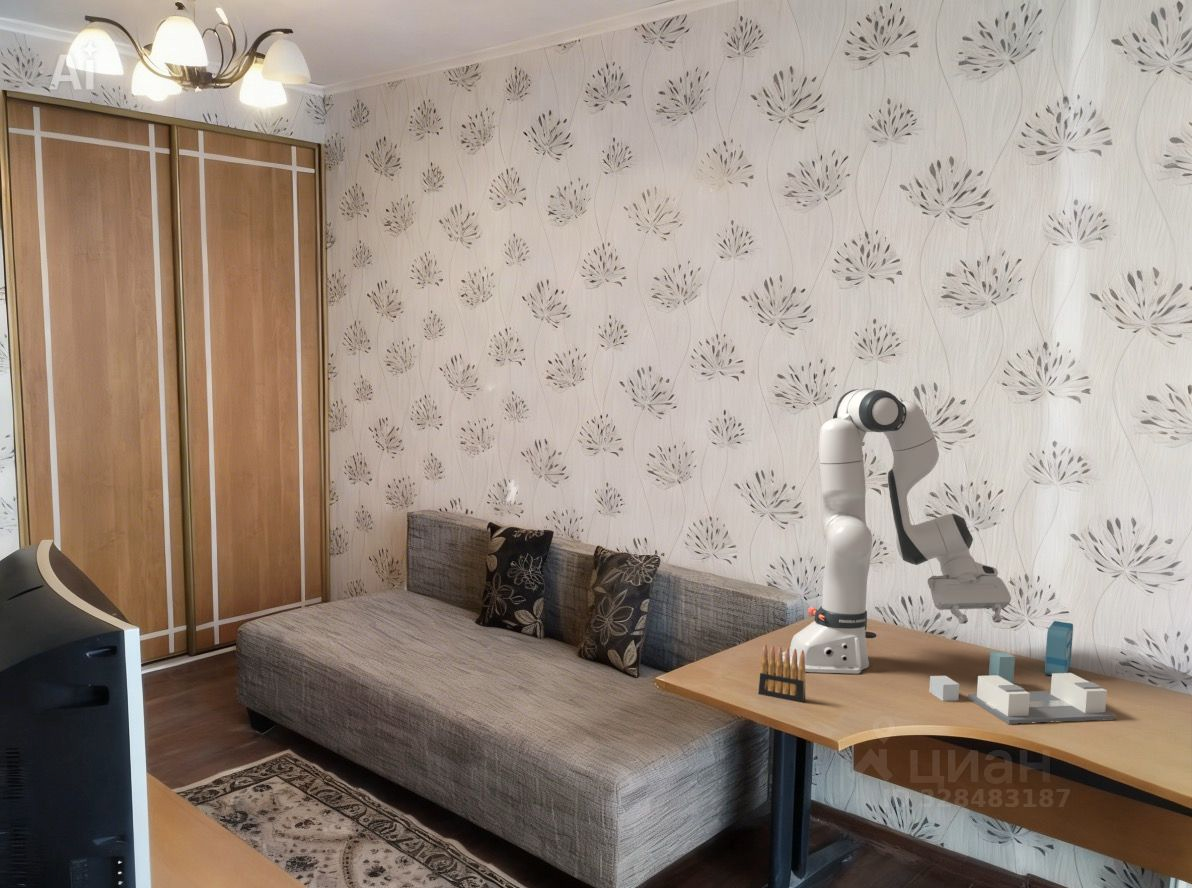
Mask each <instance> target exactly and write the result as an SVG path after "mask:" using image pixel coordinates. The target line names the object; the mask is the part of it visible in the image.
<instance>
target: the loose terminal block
mask: <svg viewBox="0 0 1192 888" xmlns="http://www.w3.org/2000/svg"><path fill="white" fill-rule="evenodd" d="M928 687H929V690H928V691H929V693H930V694H931V693H932V695H933V696H935V697H936V698H938V699H939V700H941V702H949V701H950V702H951V701H953V702H955V701H959V695H960V683H958V682H957V681H955V680H954V679H951V678H950V677H949V676H946V675H929V686H928Z"/></svg>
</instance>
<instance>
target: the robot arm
mask: <svg viewBox="0 0 1192 888" xmlns="http://www.w3.org/2000/svg"><path fill="white" fill-rule="evenodd" d="M867 433H883V434H884V435H885V437H886V439H888V443H889V446H890V449H891V452H892V455H893V464H892V467H891V469H890V470H889V471H888V473H887V484H888V492H889V498H890V504H891V509H892V511H891V512H892V516H893V522H894V526H895V532H896V533H895V534H896V537H895V542H896V548H897V551H898V555H899V556H900V557H901V559H902V561H904V562H906V563H909V564H911V565H915V566H918V565H920V564H924V563H925V562H928V561H929V560H932V559H936V560H937V561H938V562H939V564H940V572H941V573H942V575H931V576H930V577H928V579H927V585H928V588H929V590H930V592H931V593H930V594H931V598H932V602H933V604H934V607H935V608H936V609H937V610H939V611H940V610H941V611H943V610H949V611H950V613H951V614H952V615H953V616H954V617H955V618H956V619H957V620H958V623H959V624H967V622H968V621H969V619H968V617H967V614H963V613H962V612H961V611H960V610H973V609H974V610H975V609H976V610H978V609H979V610H980V609H982V610H983V609H991V611H992V612H994V614H993V616H991V619H992V620H993V621H992V622H993V623H995V624H996V623H1001V622H1002V621H1003V618H1002V615H1001V611H1002V609H1004V608H1005V609H1006V607H1007V606H1008V605H1009V604H1010V603H1011V601H1012V596H1011V594H1010V592H1009V589H1008V587H1007V586H1006V584H1005V581H1004V580H1003V579H1002V578H1000V577H999V576H998V574H999V571H998V569H997V568H996V567H993V566H990V565H986V564H982V563H980V562H977V561H975V560H976V559H974V557H973V556H972V554H971V553H970V548H971V546H972V544H973V541H974V539H973V538H974V537H973V535H972V533H971V531H970V530H969V528H968V526H967V521H966V519H965V518H964V517H962V516H961V515H958V514H955V513H949V514H945V515H941V516H938V517H935V518H933V519H930V520H927V521H924V522H921V523H918V524H912V523H911V517H910V513H909V506H908V501H907V498H908V494H909V493H910V491H911V490H912V488H914V486H915V485H916V484H917V483H919V482H920V481H921V480H923V479H924V478H925V477H927V476H928V475H929V474H930V473H931V472H932V470H934V468H935V466H936V465H937V464H938V461H939V457H940V452H939V447H938V444H937V443H938V442H937V441H936V438H935V435H934V431H933V429H932V427H931V425H930V422H929V421H928V418H927V416H926V415H925V414H924V412H923V411H922V409H921V407H920V406H919V405H918V403H916V402H914V401H907V400H905V401H900V400H899V398H898V397H896V396H895V395H894V394H893V393H891V392H889V391H887V390H884V389H874V388H869V387H868V388H859V389H852V390H849V391H847V392H846V393H844V394H843V395H842V396H841V397H840V398H839V399H838V401H837V405H836V407H835V411H834V413H833V417H832V418H831V419H829V420H827V421H826V422H824V423H823V424H822V426H821V427H820V430H819V437H818V463H819V464H818V465H819V477H820V489H821V513H822V531H823V532H822V533H823V538H824V540H825V542H826V553H825V561H824V562H825V563H824V571H823V576H822V593H821V594H822V595H821V597H822V598H821V606H820V607H819V608H818V609H816V608H814V607H813V606H809V608H808V609H807V613H808V614H809V615H811V616H812V617H814V620H813V621H812V622H811V623H809V624H808V625H806V626H805V627H803V628H802V629H801V630H800V631H798V632H797V633H795V634H794V635H793V636H792V639H791V641H790V647H789V652H790V668H791V664H792V655H793V651H794V649H796V651H797V665H798V667H799V661H800V654H801V651H802V650H803V651H804V655H805V673H824V674H825V673H827V674H834V673H835V674H861V672H862V670H864V669H865V670H866V669H867V668H869V667H870V661H869V657H868V651H867V644H866V630H867V627H868V610H866V609H867V608H866V605H867V593H868V592H867V590H868V588H867V587H868V578H869V577H868V575H869V572H870V565H871V557H872V548H873V534H872V532H871V529H870V528H869V527H868V525H867V521H866V517H867V516H866V493H867V492H866V491H867V490H866V489H867V487H866V476H865V467H864V466H865V465H864V464H865V463H864V454H863V442H864V438H865V436H866V435H867ZM785 652H786V651H782V654H783V657H782V658H783V663H784V659H785Z"/></svg>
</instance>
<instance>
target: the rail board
mask: <svg viewBox="0 0 1192 888" xmlns="http://www.w3.org/2000/svg"><path fill="white" fill-rule="evenodd" d="M1027 692H1028V693H1030V699H1029V714H1028V716H1006V715H1005V714H1003V713H1002V712H1000V711H998V710H997V709H996V708H994V707H993V706H991V705H990V704H988V703H986V702H984V701H982V700H981V699H979V698H978V697H977V693H967V699H968V700H970V701H971V702H973V703H974V704H976V705H978V706H979V707H980V708H983V710H985V711H987V712H988V713H990V714H992V715H993V716H995V717H996V716H997V717H996V718H998V719H1000V720H1001V721H1002V722H1004V721H1005V722H1004V723H1006V724H1007V723H1008V724H1007V725H1019V724H1018V723H1030V724H1033V723H1032V722H1051V721H1055V722H1054V723H1057V722H1056V721H1077V722H1087V721H1086V720H1100V721H1104V720H1103V719H1108V720H1107V721H1110V720H1109V719H1115V720H1116V714H1113V713H1112V712H1110V711H1108V710H1107V709H1105V712H1100V713H1084V712H1082V711H1080V710H1079V709H1077V708H1075V707H1073V706H1072V705H1070V704H1069V703H1067V702H1065V701H1063V700H1060V699H1058V698H1057V697H1055V696H1053V695H1051V690H1044V691H1042V690H1041V691H1027Z"/></svg>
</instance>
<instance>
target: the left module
mask: <svg viewBox="0 0 1192 888" xmlns="http://www.w3.org/2000/svg"><path fill="white" fill-rule="evenodd" d="M1028 692H1029V691H1026V690H1025V688H1023V687H1022V686H1020V685H1017V684H1014V683H1013V684H1012V683H1010V682H1009V681H1007V680H1005V679H1003V678H1002V677H1000V676H998V675H992V676H989V675H978V676H977V689H976V694H977V697H978V698H979V699H981V700H982V701H984V702H986V703H988V704H990V705H991V706H993V707H994V708H996V709H997V710H998V711H1000V712H1002V713H1003V714H1005V715H1006V716H1028V714H1029V699H1030V693H1028Z"/></svg>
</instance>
